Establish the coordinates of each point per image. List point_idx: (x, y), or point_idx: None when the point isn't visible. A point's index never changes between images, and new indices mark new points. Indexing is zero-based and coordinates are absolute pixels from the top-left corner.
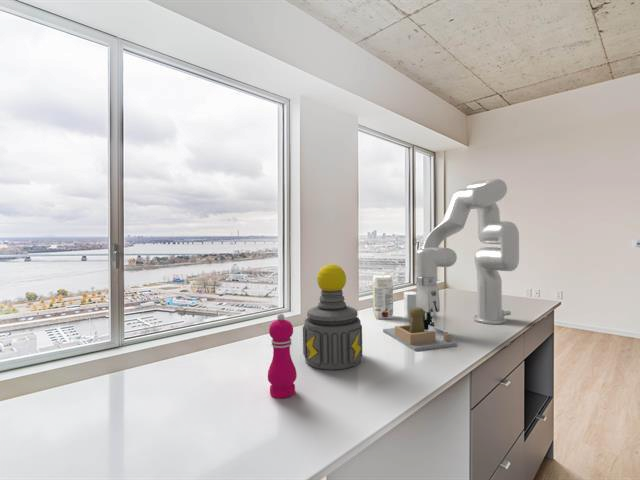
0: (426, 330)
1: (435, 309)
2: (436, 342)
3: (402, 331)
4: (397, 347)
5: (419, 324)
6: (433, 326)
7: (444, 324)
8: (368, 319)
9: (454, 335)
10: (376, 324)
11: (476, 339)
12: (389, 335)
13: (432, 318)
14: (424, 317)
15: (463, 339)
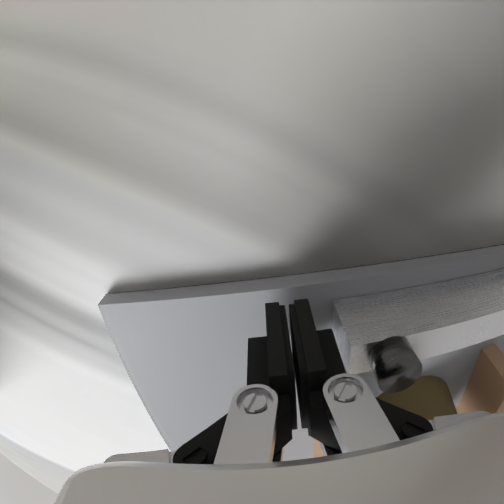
0: (263, 314)
1: (441, 462)
2: (501, 341)
3: None
4: None
5: None
6: (421, 352)
7: (33, 41)
8: (2, 420)
9: (392, 99)
10: (65, 439)
11: (494, 28)
12: None
13: (363, 380)
14: (288, 435)
15: (487, 107)
